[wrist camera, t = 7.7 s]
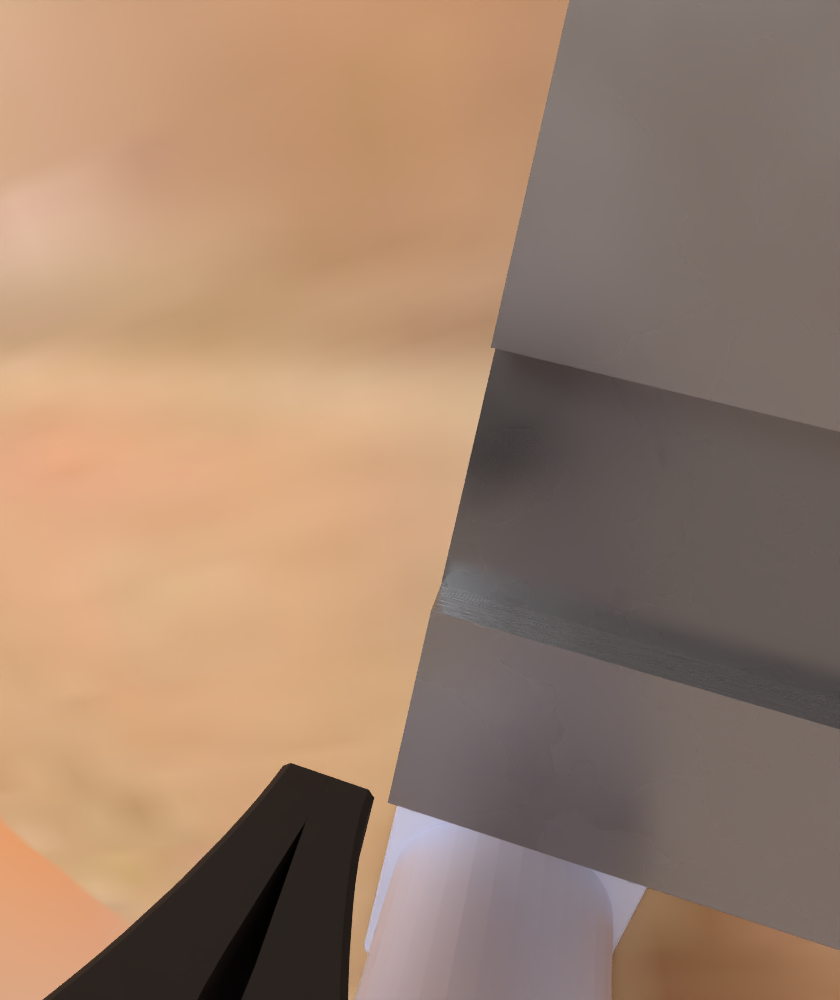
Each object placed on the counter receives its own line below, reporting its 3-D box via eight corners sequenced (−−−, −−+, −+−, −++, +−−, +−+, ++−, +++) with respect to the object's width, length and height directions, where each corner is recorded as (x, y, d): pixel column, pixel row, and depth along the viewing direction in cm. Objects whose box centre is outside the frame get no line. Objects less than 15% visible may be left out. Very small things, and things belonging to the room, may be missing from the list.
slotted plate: (914, 845, 20) (974, 994, 17) (424, 695, 22) (387, 802, 19) (1477, 117, 12) (1836, 116, 8) (597, -35, 13) (590, -90, 10)
